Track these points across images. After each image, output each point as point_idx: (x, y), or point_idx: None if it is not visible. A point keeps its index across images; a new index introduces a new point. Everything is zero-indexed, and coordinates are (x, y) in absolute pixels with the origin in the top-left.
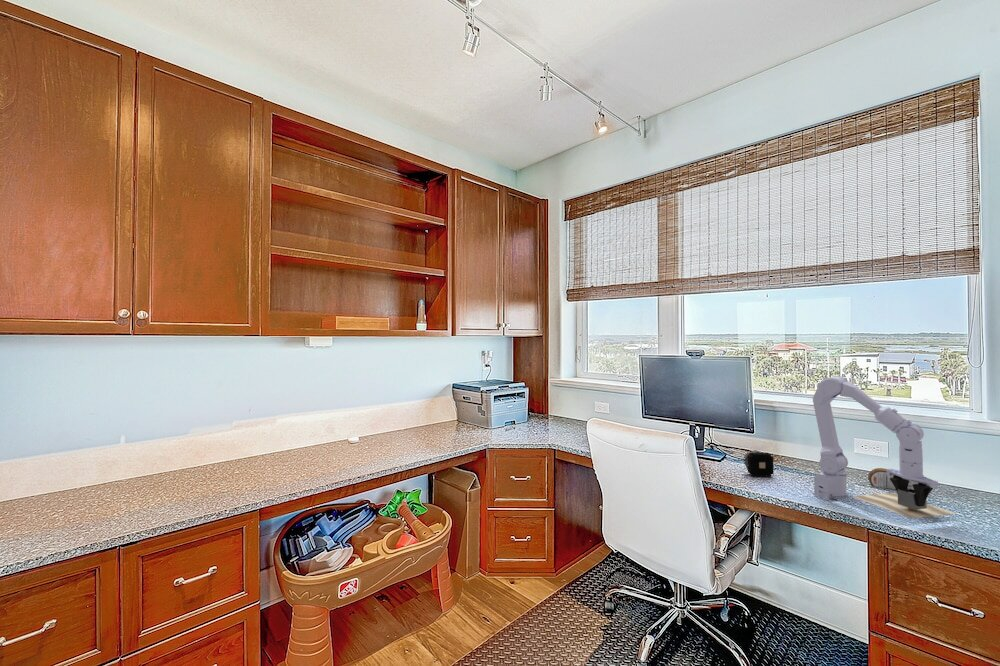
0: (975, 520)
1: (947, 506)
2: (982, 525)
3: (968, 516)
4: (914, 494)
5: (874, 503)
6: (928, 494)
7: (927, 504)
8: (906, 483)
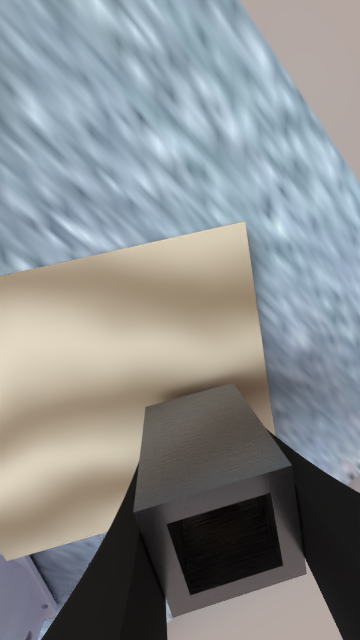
0: (262, 150)
1: (35, 88)
2: (321, 184)
3: (207, 129)
4: (303, 562)
5: (110, 518)
6: (339, 482)
7: (95, 267)
8: (136, 632)
